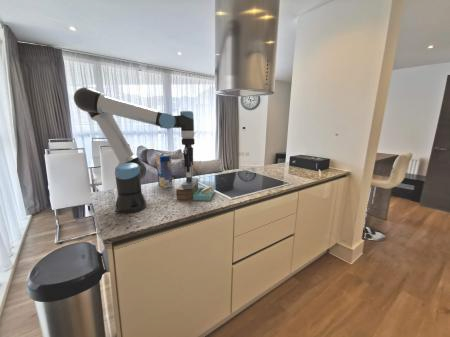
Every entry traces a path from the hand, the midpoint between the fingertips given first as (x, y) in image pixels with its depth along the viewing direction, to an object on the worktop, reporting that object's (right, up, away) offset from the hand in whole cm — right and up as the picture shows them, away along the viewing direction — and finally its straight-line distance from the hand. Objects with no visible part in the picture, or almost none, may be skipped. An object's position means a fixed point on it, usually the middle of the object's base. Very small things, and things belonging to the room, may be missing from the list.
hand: (189, 176), depth 128 cm
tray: (+9, -12, +2) cm, 15 cm away
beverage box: (-22, -8, +25) cm, 34 cm away
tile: (+10, -8, +1) cm, 13 cm away
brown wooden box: (-1, -12, +3) cm, 13 cm away
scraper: (+1, -5, +1) cm, 6 cm away
